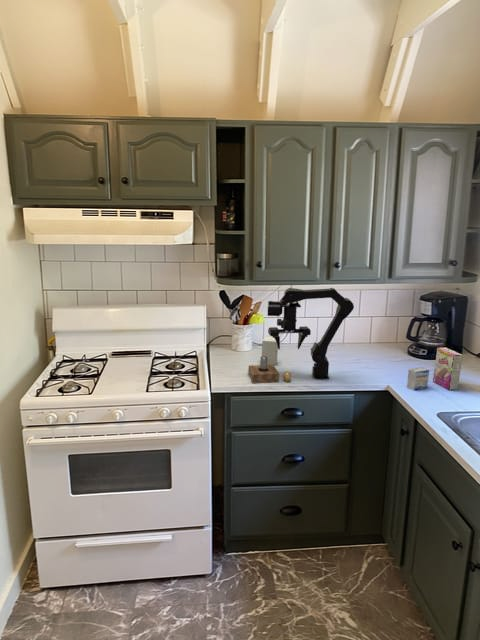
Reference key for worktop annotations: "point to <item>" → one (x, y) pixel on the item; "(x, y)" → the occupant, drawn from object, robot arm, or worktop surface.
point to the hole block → (263, 374)
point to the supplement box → (270, 350)
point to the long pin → (263, 363)
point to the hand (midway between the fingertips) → (288, 349)
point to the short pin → (287, 377)
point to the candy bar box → (447, 368)
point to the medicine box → (418, 378)
